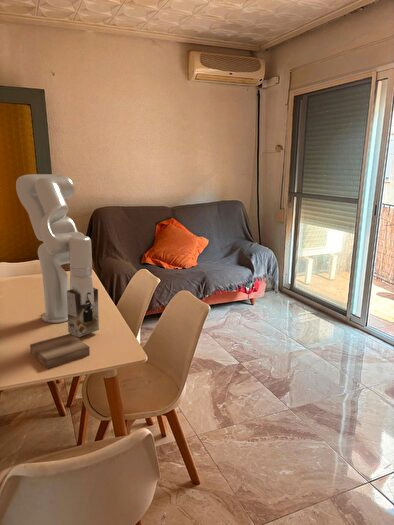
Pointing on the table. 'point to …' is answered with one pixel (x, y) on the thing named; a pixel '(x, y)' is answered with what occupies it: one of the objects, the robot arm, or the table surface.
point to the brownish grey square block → (59, 350)
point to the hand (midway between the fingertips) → (83, 317)
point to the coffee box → (81, 314)
